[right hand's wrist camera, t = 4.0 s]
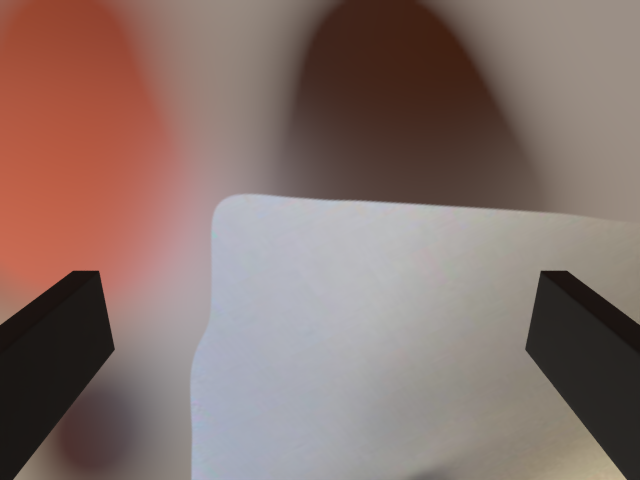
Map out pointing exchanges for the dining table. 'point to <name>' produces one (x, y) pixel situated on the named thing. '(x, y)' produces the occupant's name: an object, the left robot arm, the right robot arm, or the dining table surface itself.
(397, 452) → the dining table surface
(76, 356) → the right robot arm
